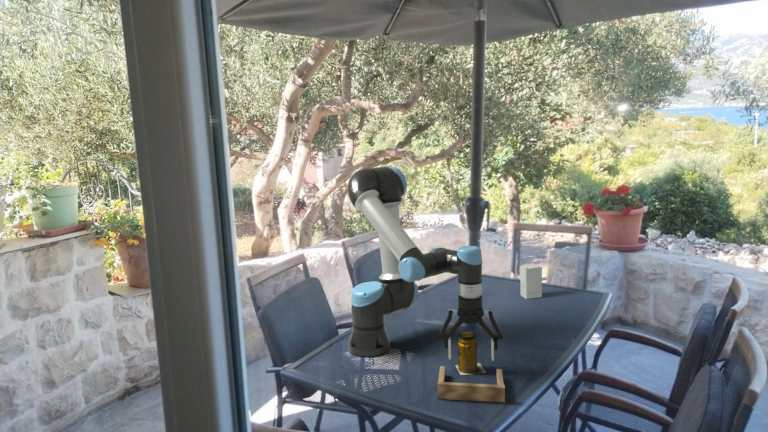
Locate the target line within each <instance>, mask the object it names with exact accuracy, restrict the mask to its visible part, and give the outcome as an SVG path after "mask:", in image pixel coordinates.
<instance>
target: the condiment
mask: <svg viewBox="0 0 768 432" xmlns="http://www.w3.org/2000/svg"><path fill="white" fill-rule="evenodd" d="M458 338H459V339H458V341H457V343H458V344H457V349H458V350H457V357H458V358H457V361H458V364H455V365H454V366H455V367H456V370H457V371H458V373H459V375H460V376H467V375H476V374H486V373H487V371H486V370H485V369H484V367H483V365H482V364H481V362H478V343H477V339H476V338H477V335H476V334H475V332H471V331H462V332H460V333H459V335H458Z"/></svg>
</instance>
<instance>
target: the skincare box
mask: <svg viewBox="0 0 768 432" xmlns="http://www.w3.org/2000/svg"><path fill="white" fill-rule="evenodd" d="M519 267H520V272H519V275H520V278H519V281H520V283H519V285H520V286H519V287H520V296H521V297H522V298H524V299H525V300H531V299H537V298H542V297H543V292H542V288H543V285H542V284H543V266H541V265H538V264H537V263H533V264H532V263H531V264H524V265H520V266H519Z"/></svg>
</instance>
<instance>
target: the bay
mask: <svg viewBox="0 0 768 432" xmlns="http://www.w3.org/2000/svg"><path fill="white" fill-rule="evenodd" d="M438 372H439V373H438V381H437V384H436V385H437V386H436V387H437V389H436V390H437V393H436V394H437V399H438V400H456V401H458V400H459V401H472V402H473V401H474V402H490V403H491V402H492V403H506V385H505V383H504V378H503V370H502V368H496V384H493V383H492V384H491V383H489V384H488V383H472V382H471V383H469V382H451V381H450V382H449V381H445V380H446V379H445V378H446V366H443V365H440V366H439V371H438Z"/></svg>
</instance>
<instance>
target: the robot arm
mask: <svg viewBox="0 0 768 432" xmlns="http://www.w3.org/2000/svg"><path fill="white" fill-rule="evenodd" d="M407 184H408V183H407V179H406V176H405V174H404V173H403V172H402V171H401V170H400V169H399V168H397V167H395V166H383V167H382V166H380V167H371V168H361V169H359V170H356V171H355V172H354V173H353V174H352V175H351V177H350V178H349V180H348V182H347V194H348V199H349V200H350V203H351V204H352V205H353V207H354V208H355V210H357V211H359V212H361V213H362V215H364V216H365V218H366V219H367V221H368V222H369V224H370V225H371V226H372V227H373V229H374V230H375V231H376V232H377V235H378V244H379V254H380V262H381V270H382V273H380V275H379V276H378V281H373V280H371V281H365V282H362V283H359V284H357V285H355V286H354V287H353V288H352V290H351V293H350V295H351V296H350V304H351V321H352V322H351V323H352V327H351V328H352V329H351V332H350V333H351V334H350V336H349V339H348V351H349V352H350V354H352V355H355V356H359V357H365V358H366V357H367V358H369V357H377V356H380V355H384V354H386V353H388V352H389V351H390V349H391V340H390V337H389V334H388V332H387V330H386V329H387V328H386V326H385V323H386V322H385V321H386V320H385V317H387V316H390V315H393V314H395V313H399V312H403V311H407V310H408V309H410V308H412V307H414V305H415V304H416V303H417V301H418V298H419V287H418V284H417V283H416V282H419V281H422V280H424V279H426V278H430V277H435V276H438V275H442V274H445V273H448V274H453V275H457V291H458V292H457V294H458V297H457V298H458V299H457V300H458V302H457V303H458V308H457V309H453V308H452V307H450V308H449V309H448V315H447V317H446V319H445V321H444V323H443V324H442V327H441V328H440V330H439V332H438V337H439V338H440V339H444V348H445V349H446V350H447V349H448V350H447V353H448V354H447V355H448V360H452V337H451V336H452V335H453V334H454V333H455V332H456V331H457V330H458V329H459V327H461V326H462V325H463V324H465V325H470V324H471V325H476V324H479V326H480V327H482V329H483V330H484V331H485V332H486V334H488V335H489V337H490V358H491V359H490V360H491V361H492V362H494V361H495V351H497V350H498V344H499V343H498V341H499V340H503V339H504V334H503V332H502V330H501V328H500V326H499V325H498V323H497V321H496V319H495V317H494V314H493V309H492V308H488V309H486V310H484V309H483V295H482V294H483V279H482V275H483V272H482V271H483V257H482V249H481V248H480V247H478V246H477V245H462V246H459V247H458V248H457V250H454V249H450V248H449V249H448V248H446V247H433V248H431V250H430V251H429V252H427V253H423V252H422V250H420V249H419V247H418V246H417V245H416V243H415V241H413V240H412V238H411V237H410V236H409V234H408V233H407V232H406V231H405V229H404V228H403V226H401V219H400V218H401V217H400V209H399V207H400V206H401V204H402V202H403V201H402V200H403V199H402V197H403V196H404V195H405V194H406V191H407V187H408V185H407ZM455 315H457V317H459V318H457V320H456V321H455V322H454V324H453V325H452V326H451V327H450V328H449V329H448V331H447V328H448V327H449V325H450V322H451V321H452V318H454V317H455ZM484 316H486V317H487V318H489V321H490V322H491V325H492V326H493V328H494V330H495V332H496V333H495V332H494V330H493V329H492V328H491V327H490V326H489V325H488V324H487V323H486V322H485V320H484V319H483V317H484Z"/></svg>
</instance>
